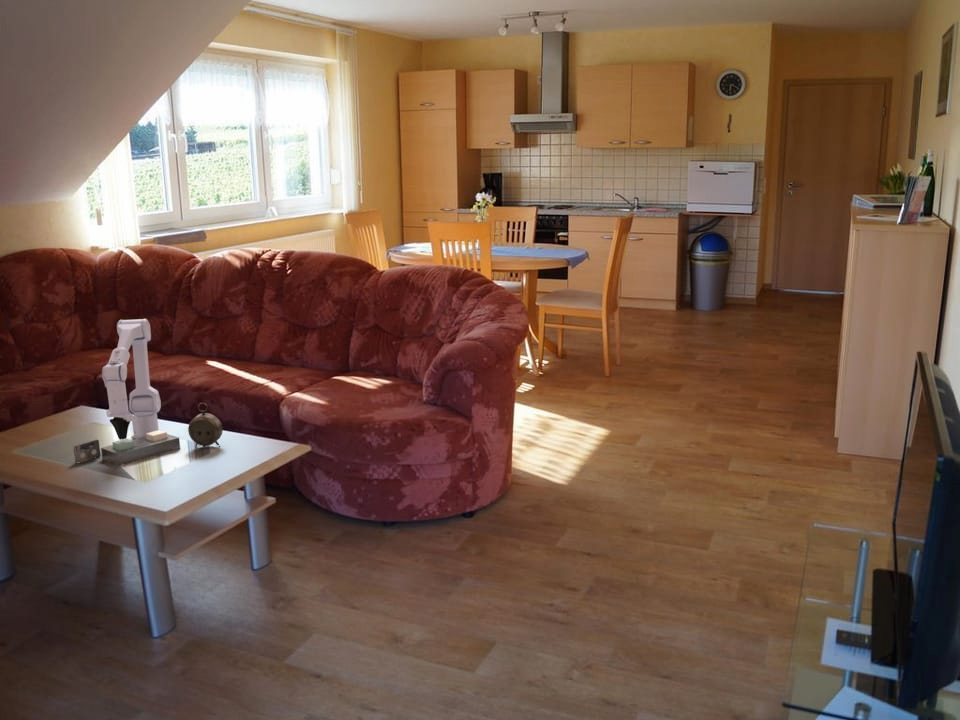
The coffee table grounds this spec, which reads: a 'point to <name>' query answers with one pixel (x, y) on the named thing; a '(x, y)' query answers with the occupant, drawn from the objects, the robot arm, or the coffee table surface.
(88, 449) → the mini dv tape
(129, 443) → the teal key
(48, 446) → the coffee table surface
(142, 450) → the key housing
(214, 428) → the alarm clock
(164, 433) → the white key
